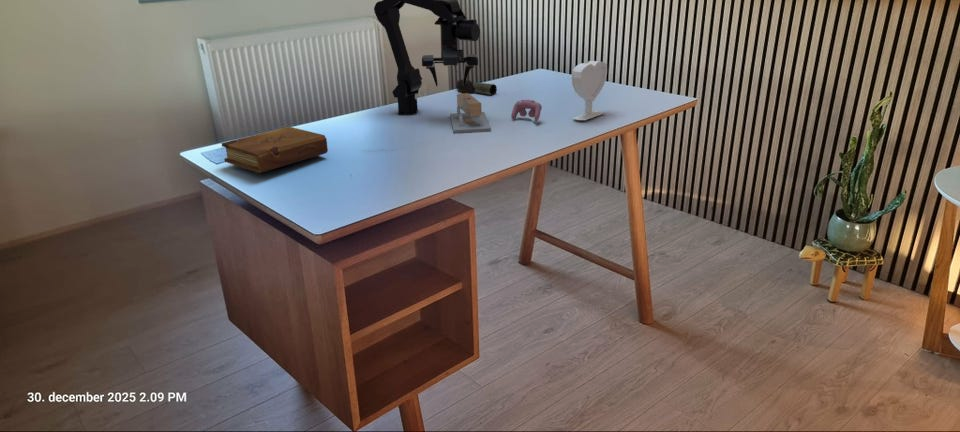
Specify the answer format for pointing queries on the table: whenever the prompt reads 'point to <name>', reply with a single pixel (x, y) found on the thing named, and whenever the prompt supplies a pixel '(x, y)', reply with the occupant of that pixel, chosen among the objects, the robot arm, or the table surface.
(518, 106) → the video game controller
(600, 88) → the heart sculpture
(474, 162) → the table surface
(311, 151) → the diary
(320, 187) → the table surface
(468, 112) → the tan wooden bar
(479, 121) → the set of grey blocks
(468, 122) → the plate
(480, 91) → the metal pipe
